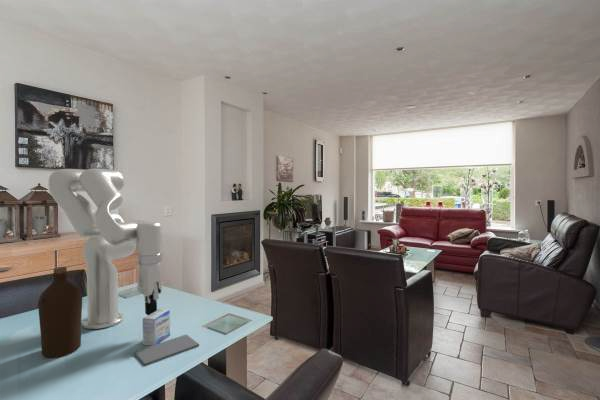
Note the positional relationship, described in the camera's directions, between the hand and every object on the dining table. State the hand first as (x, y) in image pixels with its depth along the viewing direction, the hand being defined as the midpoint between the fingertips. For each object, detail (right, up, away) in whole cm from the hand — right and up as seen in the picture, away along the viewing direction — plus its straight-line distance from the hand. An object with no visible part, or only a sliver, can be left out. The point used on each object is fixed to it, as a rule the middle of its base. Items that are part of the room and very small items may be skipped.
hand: (151, 313), depth 107 cm
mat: (+10, -8, -10) cm, 16 cm away
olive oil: (-22, -7, -11) cm, 25 cm away
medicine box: (+4, -7, -4) cm, 9 cm away
